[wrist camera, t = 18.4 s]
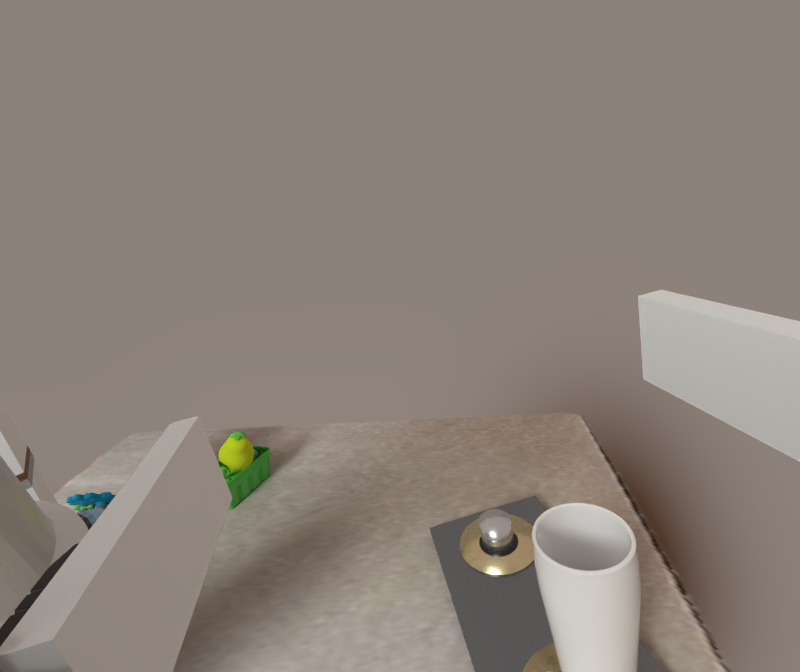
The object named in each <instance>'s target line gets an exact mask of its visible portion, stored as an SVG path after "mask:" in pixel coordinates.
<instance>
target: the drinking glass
mask: <svg viewBox="0 0 800 672" xmlns="http://www.w3.org/2000/svg"><path fill="white" fill-rule="evenodd" d="M532 542H533V553H534V562H535V568H536V574H537V580H538V585H539V589H540V593H541V597H542V601H543V604H544V608H545V612H546V615H547V619H548V623H549V626H550V630H551V634H552V638H553V641H554V645H555V649H556V653H557V657H558V661H559V665H560V669H561V672H637V670H638V648H639V629H640V611H641V578H640V566H639V558H638V551H637V543H636V538H635V535H634V533H633V531H632V529H631V527H630V526H629V525H628V524H627V523H626V522H625V521H624V520H623V519H622V518H621V517H620V516H618V515H617V514H615V513H614V512H612V511H610V510H608V509H606V508H603V507H600V506H597V505H593V504H587V503H566V504H561V505H557V506H554V507H552V508H550V509H548V510H546V511H545V512H543V513H542V514H541V515H540V516H539V517H538V518H537V520H536V521H535V523H534V525H533V529H532Z"/></svg>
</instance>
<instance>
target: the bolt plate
mask: <svg viewBox="0 0 800 672" xmlns="http://www.w3.org/2000/svg"><path fill="white" fill-rule="evenodd" d="M543 512H545V509H544V508H543V507H542V505H541V504H540V503H539V501H538V500H537V498H536V497H535V496H533V497H530V498H526V499H523V500H520V501H517V502H513V503H510V504H507V505H504V506H500V507H497V508H494V509H491V510H487V511H484V512H481V513H477V514H474V515H471V516H468V517H464V518H461V519H458V520H455V521H451V522H448V523H445V524H442V525H438V526H435V527H432V528H430V530H431V534H432V537H433V540H434V544H435V547H436V550H437V553H438V556H439V559H440V563H441V566H442V569H443V572H444V575H445V578H446V582H447V585H448V588H449V591H450V594H451V597H452V600H453V604H454V607H455V610H456V613H457V616H458V619H459V623H460V626H461V629H462V632H463V635H464V638H465V642H466V645H467V648H468V651H469V654H470V657H471V661H472V664H473V667H474V670H475V672H561V669H560V665H559V661H558V657H557V653H556V649H555V645H554V641H553V638H552V634H551V630H550V626H549V623H548V619H547V615H546V612H545V608H544V604H543V601H542V597H541V593H540V589H539V585H538V580H537V574H536V568H535V562H534V553H533V542H532V529H533V525H534V523H535V521H536V520H537V518H538V517H539V516H540V515H541V514H542V513H543ZM637 672H662V671H661V669H660V668H659V667H658V665H657V664H656V663H655V661H654V660H653V658H652V657H651V656H650V654H649V653H648V652H647V650H646V649H645V647H644V646H643V645H642V643H641V642H640V640H639V648H638V670H637Z"/></svg>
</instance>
